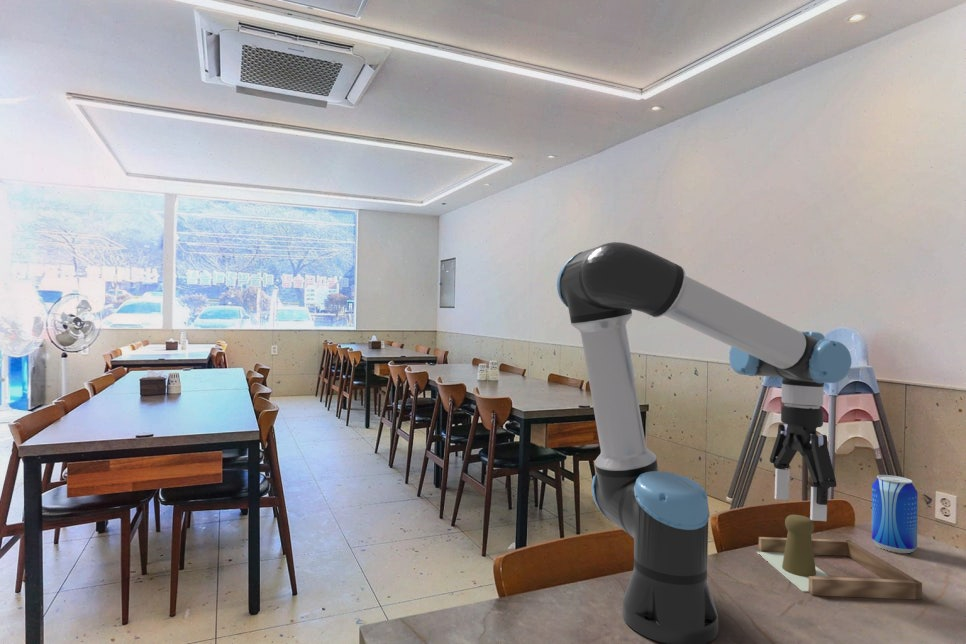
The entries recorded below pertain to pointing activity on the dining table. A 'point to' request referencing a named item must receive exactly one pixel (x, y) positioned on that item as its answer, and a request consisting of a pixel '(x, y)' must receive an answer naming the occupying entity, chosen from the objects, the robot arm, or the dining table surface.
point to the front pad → (777, 563)
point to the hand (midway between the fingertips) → (798, 509)
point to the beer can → (894, 514)
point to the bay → (888, 587)
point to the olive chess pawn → (799, 546)
